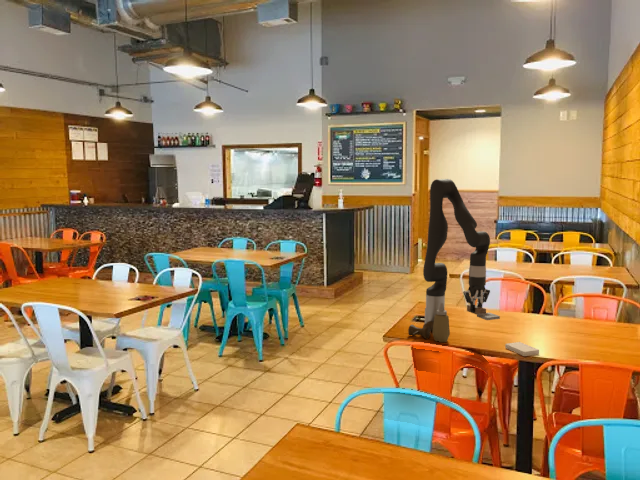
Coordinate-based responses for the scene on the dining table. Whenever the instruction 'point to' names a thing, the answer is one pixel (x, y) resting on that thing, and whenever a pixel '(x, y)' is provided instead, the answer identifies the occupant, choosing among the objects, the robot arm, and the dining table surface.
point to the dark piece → (483, 313)
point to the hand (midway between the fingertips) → (476, 311)
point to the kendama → (421, 330)
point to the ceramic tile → (522, 349)
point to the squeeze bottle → (441, 325)
